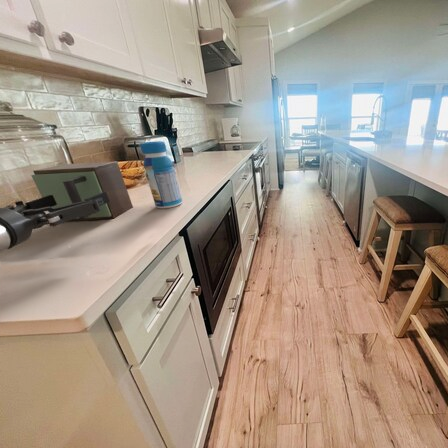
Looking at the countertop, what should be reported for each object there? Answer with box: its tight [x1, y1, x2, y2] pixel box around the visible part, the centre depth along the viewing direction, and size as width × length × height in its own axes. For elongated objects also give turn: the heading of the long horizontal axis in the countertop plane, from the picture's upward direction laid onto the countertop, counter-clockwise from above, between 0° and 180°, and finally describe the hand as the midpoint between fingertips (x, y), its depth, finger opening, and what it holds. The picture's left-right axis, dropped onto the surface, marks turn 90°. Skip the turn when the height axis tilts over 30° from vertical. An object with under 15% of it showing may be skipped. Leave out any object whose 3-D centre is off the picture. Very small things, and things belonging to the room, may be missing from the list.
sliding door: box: [31, 171, 111, 219], centre depth 64 cm, size 16×7×13 cm, turn 93°
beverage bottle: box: [139, 140, 183, 209], centre depth 76 cm, size 8×8×20 cm
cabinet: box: [32, 161, 134, 222], centre depth 72 cm, size 16×10×15 cm, turn 93°
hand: (80, 198), depth 63 cm, fingers open, 13 cm apart
